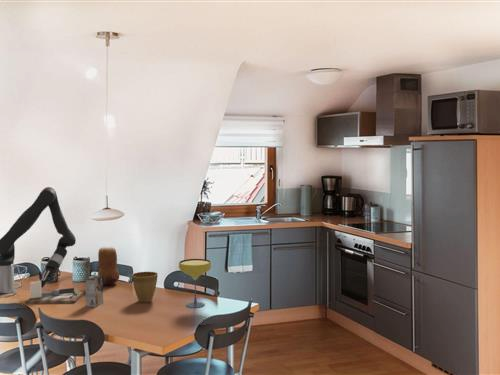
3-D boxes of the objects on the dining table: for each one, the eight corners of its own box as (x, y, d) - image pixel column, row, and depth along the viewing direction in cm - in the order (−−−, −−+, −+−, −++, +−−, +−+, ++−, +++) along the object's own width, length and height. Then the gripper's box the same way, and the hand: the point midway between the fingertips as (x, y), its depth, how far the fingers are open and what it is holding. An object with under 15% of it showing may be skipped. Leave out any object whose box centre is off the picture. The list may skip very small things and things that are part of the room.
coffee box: (93, 301, 318) (92, 274, 317) (103, 302, 317) (102, 275, 316) (85, 306, 309) (84, 278, 308) (95, 307, 308) (95, 279, 307)
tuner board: (25, 303, 315) (25, 299, 314) (38, 294, 335) (38, 290, 334) (74, 303, 316) (74, 298, 315) (84, 293, 336) (84, 289, 335)
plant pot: (163, 299, 324) (162, 272, 322) (148, 305, 310) (147, 278, 309) (142, 296, 330) (141, 270, 329) (127, 302, 316) (126, 275, 315)
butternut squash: (110, 281, 367) (109, 244, 365) (123, 283, 360) (122, 246, 358) (93, 285, 356) (92, 247, 354) (106, 288, 348) (106, 249, 346)
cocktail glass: (175, 302, 316) (175, 260, 314) (205, 299, 323) (205, 257, 321) (184, 311, 299) (184, 266, 297) (215, 307, 306) (215, 263, 304)
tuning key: (73, 291, 331) (73, 277, 331) (74, 293, 328) (74, 278, 327) (30, 296, 321) (29, 281, 320) (30, 298, 317) (30, 283, 316)
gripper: (43, 258, 335) (28, 282, 325) (59, 260, 330) (45, 284, 319) (49, 265, 340) (35, 289, 330) (66, 267, 335) (52, 291, 325)
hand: (40, 287), depth 325 cm, fingers closed
